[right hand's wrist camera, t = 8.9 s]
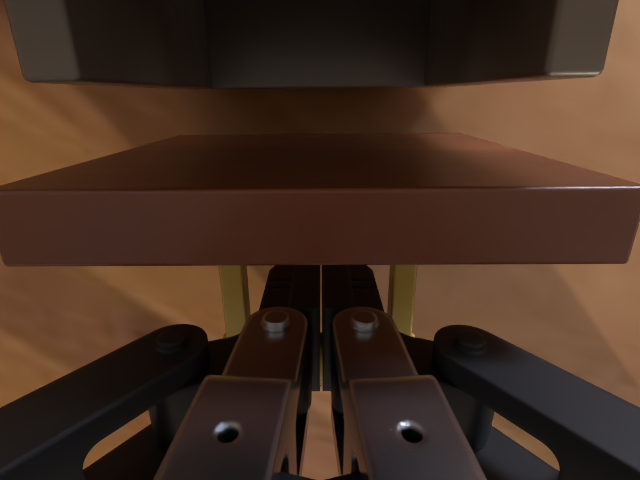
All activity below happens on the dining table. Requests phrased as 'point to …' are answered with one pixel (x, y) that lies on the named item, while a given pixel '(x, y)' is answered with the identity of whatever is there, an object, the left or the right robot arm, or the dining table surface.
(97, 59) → the drawer
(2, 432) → the right robot arm
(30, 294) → the dining table surface
